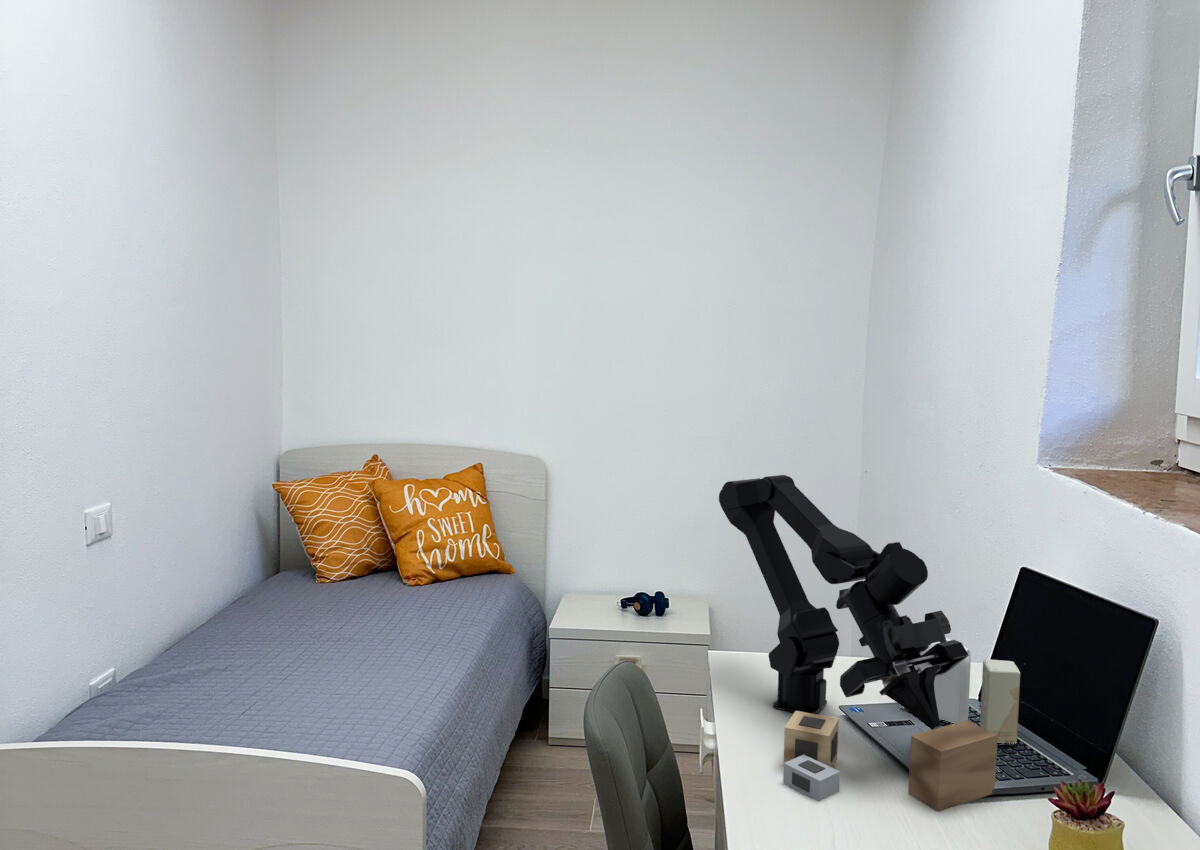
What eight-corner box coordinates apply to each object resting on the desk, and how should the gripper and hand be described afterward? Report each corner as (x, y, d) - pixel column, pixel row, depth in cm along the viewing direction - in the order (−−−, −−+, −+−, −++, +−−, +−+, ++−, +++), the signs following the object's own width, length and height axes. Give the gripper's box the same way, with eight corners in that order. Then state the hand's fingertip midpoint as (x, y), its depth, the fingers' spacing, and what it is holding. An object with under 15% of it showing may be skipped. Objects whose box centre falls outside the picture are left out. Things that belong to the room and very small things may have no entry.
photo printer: (895, 709, 152) (899, 632, 151) (908, 701, 156) (912, 625, 154) (960, 729, 145) (965, 649, 144) (972, 720, 149) (977, 641, 147)
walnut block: (908, 794, 127) (911, 735, 126) (963, 777, 131) (966, 720, 130) (937, 812, 122) (941, 751, 121) (994, 793, 127) (997, 735, 126)
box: (1016, 748, 139) (1021, 673, 138) (984, 745, 140) (989, 671, 139) (1009, 732, 145) (1013, 660, 143) (978, 729, 145) (982, 657, 144)
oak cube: (783, 770, 133) (784, 726, 132) (794, 751, 139) (795, 709, 138) (828, 779, 130) (830, 735, 130) (838, 760, 136) (840, 717, 135)
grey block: (782, 784, 129) (783, 762, 129) (803, 775, 132) (803, 753, 131) (818, 803, 125) (819, 780, 124) (839, 793, 127) (840, 770, 127)
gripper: (857, 602, 127) (917, 715, 118) (961, 583, 135) (1024, 687, 127) (815, 642, 135) (869, 751, 126) (916, 621, 143) (972, 722, 135)
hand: (936, 727), depth 128 cm, fingers closed
